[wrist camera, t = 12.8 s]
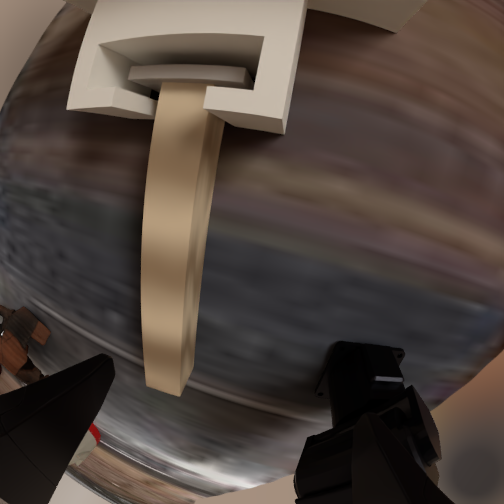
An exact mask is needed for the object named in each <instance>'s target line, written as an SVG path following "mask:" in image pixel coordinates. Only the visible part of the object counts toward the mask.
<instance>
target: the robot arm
mask: <svg viewBox="0 0 504 504" xmlns="http://www.w3.org/2000/svg"><path fill="white" fill-rule="evenodd" d="M340 347H344V348H340ZM398 354H400V355H398ZM404 356H405V352H404V350H403V349H401V348H392V347H389V346H381V345H373V344H360V343H353V342H346V341H340V342H338V343H337V344H336V346H335V348H334V350H333V353H332V355H331V357H330V359H329V362H328V364H327V366H326V368H325V371H324V373H323V375H322V377H321V379H320V381H319V383H318V386H317V388H316V390H315V396H316V397H318V398H327V399H330V405H331V415H332V426H333V428H332V429H329V430H327V431H325V432H322V433H320V434H317V435H312V436H309V437H307V440H306V443H305V446H304V449H303V452H302V454H301V457H300V460H299V463H298V466H297V468H296V471H295V475H294V480H293V481H294V488H295V492H296V494H297V497H298V499H296V500H295V503H296V504H455V503H454V502H452V501H451V500H450V499H449V498H448V497H447V496H446V495H445V494H444V493H443V492H442V491H441V490H440V489H439V488H438V487H437V486H438V481H439V472H438V469H437V466H436V464H435V463H436V462H438V461H440V460H441V459H442V455H441V446H440V440H439V432H438V430H437V427H436V425H435V422H434V420H433V418H432V415H431V413H430V411H429V409H428V408H427V406H426V404H425V403H424V401H423V400H422V398H421V397H420V395H419V394H418V392H417V391H416V389H415V388H414V386H413V385H411V386H409V387H407V388H406V390H405V387H404V385H403V382H404V378H403V375H402V373H401V370H400V368H399V365H400V363H401V362H402V360H403V358H404ZM114 377H115V368H114V363H113V359H112V357H111V356H108V355H106V354H103V353H102V354H99V355H96V356H94V357H92V358H90V359H87V360H85V361H83V362H81V363H78V364H76V365H74V366H71V367H69V368H67V369H65V370H62V371H60V372H58V373H55V374H53V375H50V376H48V377H46V378H43V379H41V380H39V381H36V382H34V383H31V384H29V385H27V386H24V387H21V388H19V389H16V390H14V391H11V392H8V393H5V394H2V395H0V504H48V503H49V501H50V499H51V497H52V495H53V493H54V491H55V489H56V486H57V485H58V483H59V481H60V480H61V478H62V476H63V474H64V472H65V470H66V468H67V467H68V465H69V463H70V461H71V459H72V457H73V456H74V454H75V452H76V450H77V448H78V447H79V445H80V443H81V441H82V440H83V438H84V436H85V434H86V433H87V431H88V429H89V428H90V426H91V424H92V422H93V421H94V419H95V417H96V416H97V414H98V412H99V410H100V409H101V406H102V404H103V402H104V400H105V398H106V395H107V393H108V391H109V389H110V386H111V384H112V382H113V380H114ZM320 392H322V393H320Z"/></svg>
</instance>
